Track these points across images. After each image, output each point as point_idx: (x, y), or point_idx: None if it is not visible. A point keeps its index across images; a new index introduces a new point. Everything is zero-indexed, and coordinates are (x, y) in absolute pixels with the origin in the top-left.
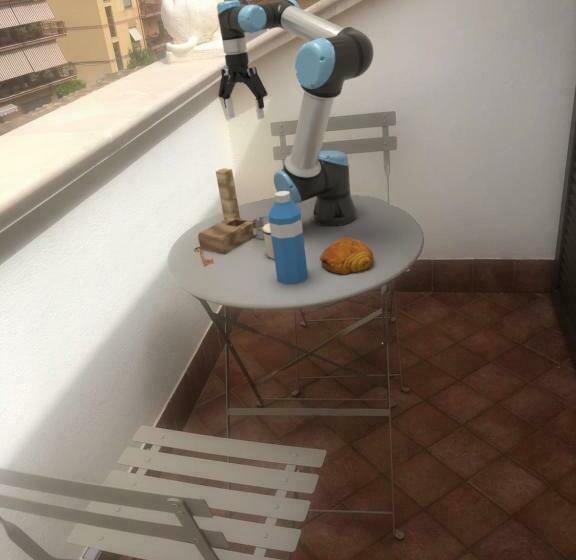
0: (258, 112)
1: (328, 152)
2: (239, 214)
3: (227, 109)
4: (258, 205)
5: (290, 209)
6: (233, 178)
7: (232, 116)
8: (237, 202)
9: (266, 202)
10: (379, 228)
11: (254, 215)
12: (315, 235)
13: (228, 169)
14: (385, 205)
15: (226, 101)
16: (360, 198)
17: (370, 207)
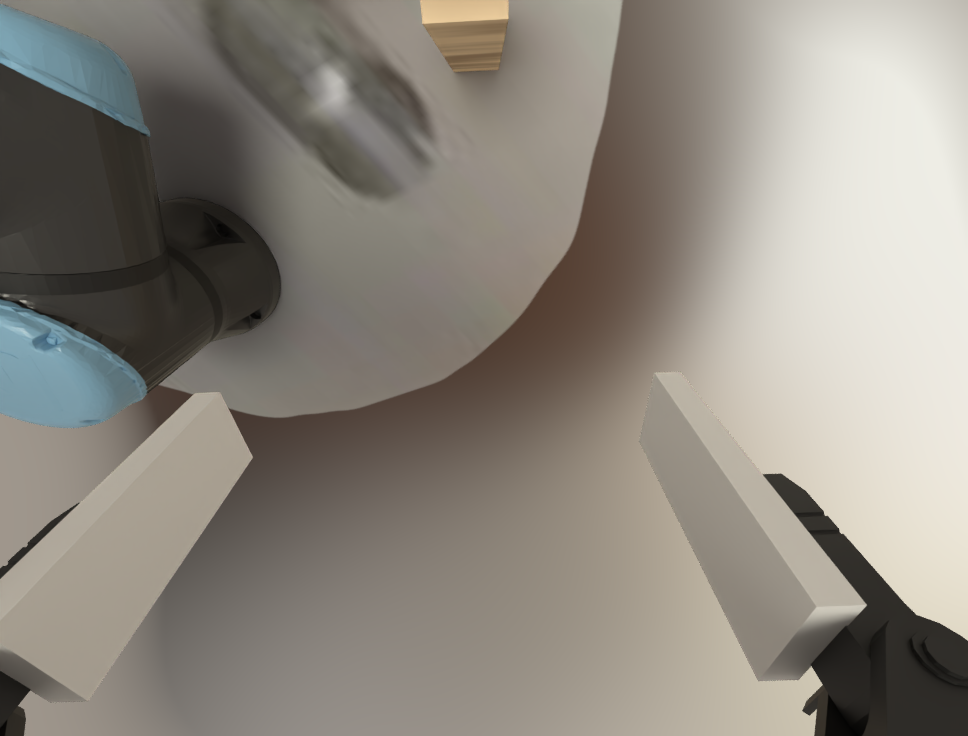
0: (138, 449)
1: (23, 385)
2: (451, 67)
3: (724, 449)
4: (517, 254)
5: None
6: (430, 35)
7: (650, 421)
8: (446, 59)
9: (509, 286)
10: None
11: (464, 169)
12: None
13: (443, 2)
14: (187, 388)
15: (801, 567)
16: (281, 403)
17: (205, 365)
